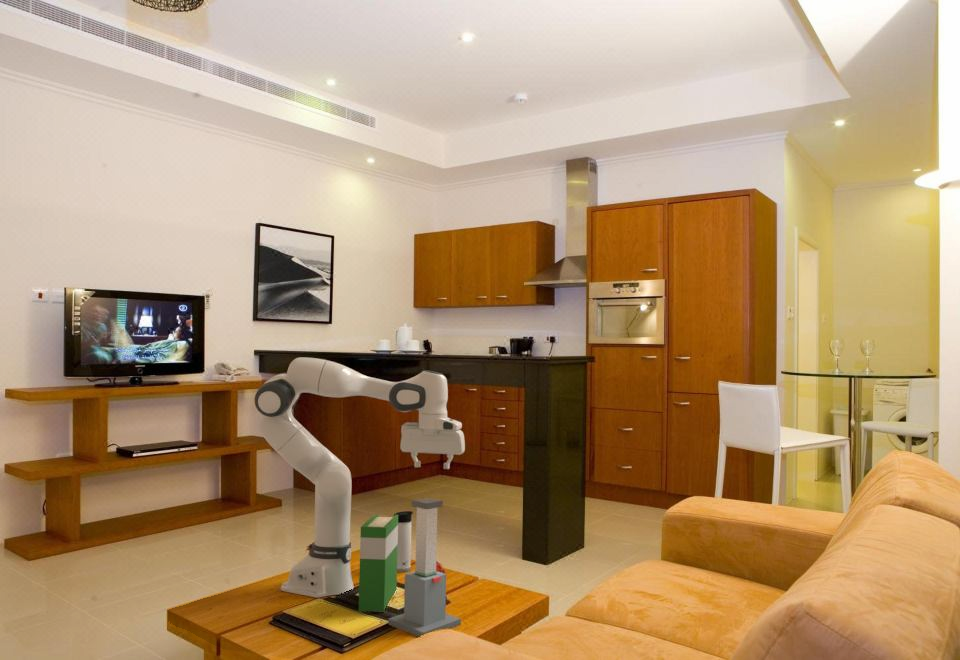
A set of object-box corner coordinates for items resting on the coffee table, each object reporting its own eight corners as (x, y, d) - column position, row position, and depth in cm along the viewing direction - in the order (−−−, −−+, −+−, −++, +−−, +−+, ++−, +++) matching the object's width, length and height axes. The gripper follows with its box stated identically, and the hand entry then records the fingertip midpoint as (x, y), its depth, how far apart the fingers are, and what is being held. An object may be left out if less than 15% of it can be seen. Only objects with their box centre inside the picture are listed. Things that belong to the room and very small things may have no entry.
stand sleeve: (388, 624, 187) (389, 573, 188) (425, 611, 197) (426, 563, 198) (423, 638, 178) (424, 585, 178) (460, 624, 188) (461, 574, 189)
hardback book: (373, 592, 214) (375, 514, 215) (396, 593, 213) (398, 514, 215) (358, 611, 196) (360, 526, 198) (383, 613, 196) (386, 527, 197)
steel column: (409, 595, 188) (411, 500, 189) (425, 590, 192) (427, 497, 194) (424, 600, 184) (426, 503, 185) (440, 595, 188) (442, 500, 190)
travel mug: (408, 573, 234) (409, 513, 235) (389, 571, 236) (391, 512, 237) (413, 567, 240) (414, 510, 242) (395, 566, 242) (397, 509, 243)
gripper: (397, 422, 213) (396, 467, 212) (461, 424, 208) (460, 471, 207) (405, 421, 219) (403, 464, 218) (466, 423, 214) (465, 468, 213)
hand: (431, 467), depth 213 cm, fingers open, 8 cm apart
